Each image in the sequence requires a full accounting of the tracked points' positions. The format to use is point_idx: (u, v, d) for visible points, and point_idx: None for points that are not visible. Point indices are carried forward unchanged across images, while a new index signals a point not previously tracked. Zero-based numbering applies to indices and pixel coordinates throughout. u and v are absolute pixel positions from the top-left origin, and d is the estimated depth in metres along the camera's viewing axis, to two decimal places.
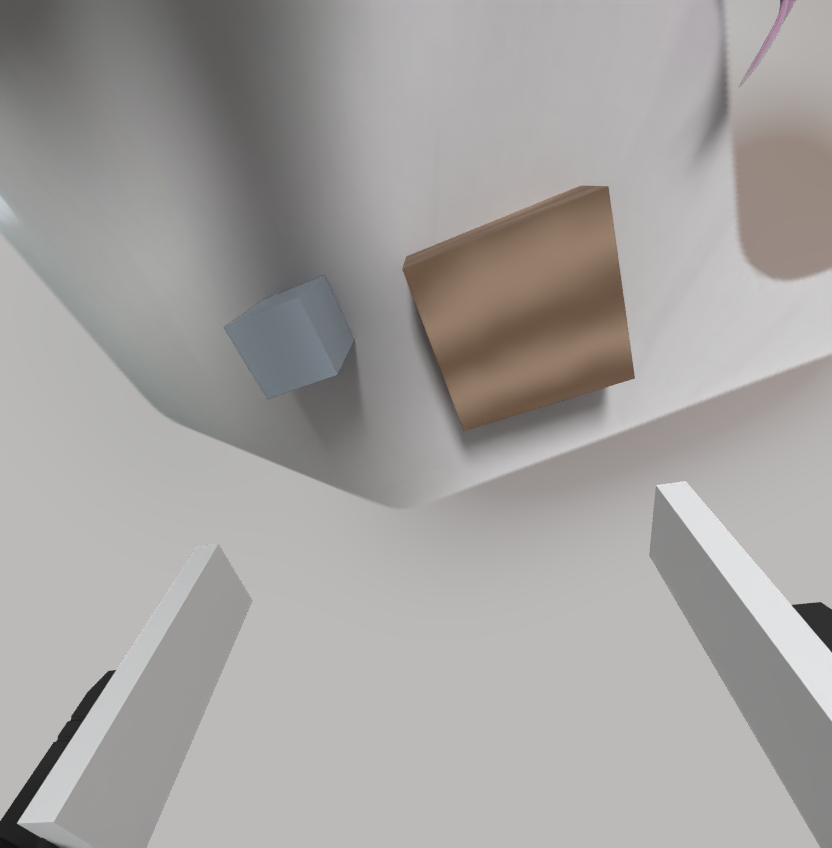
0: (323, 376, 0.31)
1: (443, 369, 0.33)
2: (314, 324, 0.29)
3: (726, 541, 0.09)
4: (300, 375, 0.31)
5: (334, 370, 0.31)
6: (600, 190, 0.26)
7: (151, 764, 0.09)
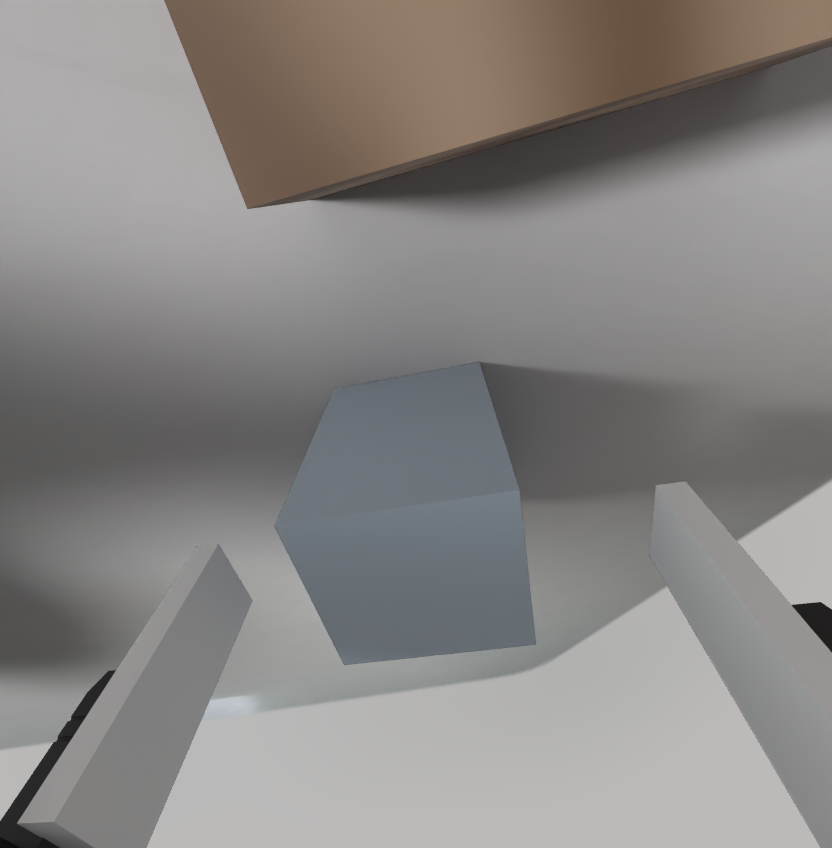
0: (513, 524, 0.10)
1: (646, 77, 0.08)
2: (358, 504, 0.10)
3: (726, 541, 0.09)
4: (492, 573, 0.11)
5: (503, 493, 0.10)
6: None
7: (151, 764, 0.09)
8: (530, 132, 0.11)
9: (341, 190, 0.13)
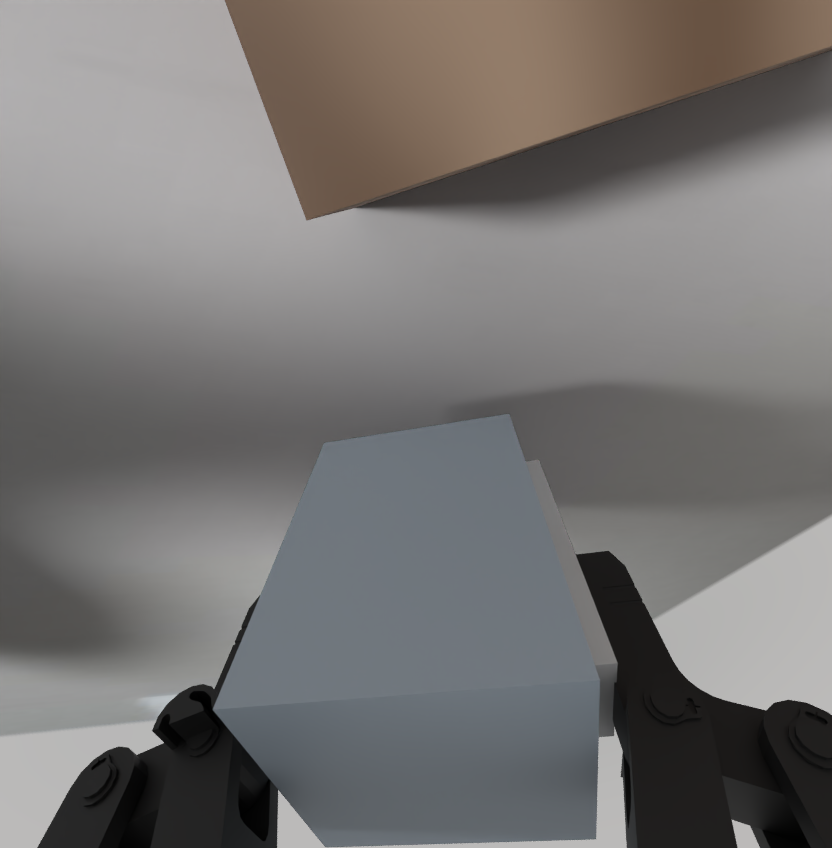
0: (583, 720, 0.06)
1: (715, 70, 0.07)
2: (341, 676, 0.07)
3: (548, 505, 0.11)
4: (544, 769, 0.07)
5: (572, 683, 0.06)
6: None
7: None
8: (582, 131, 0.10)
9: (385, 197, 0.13)
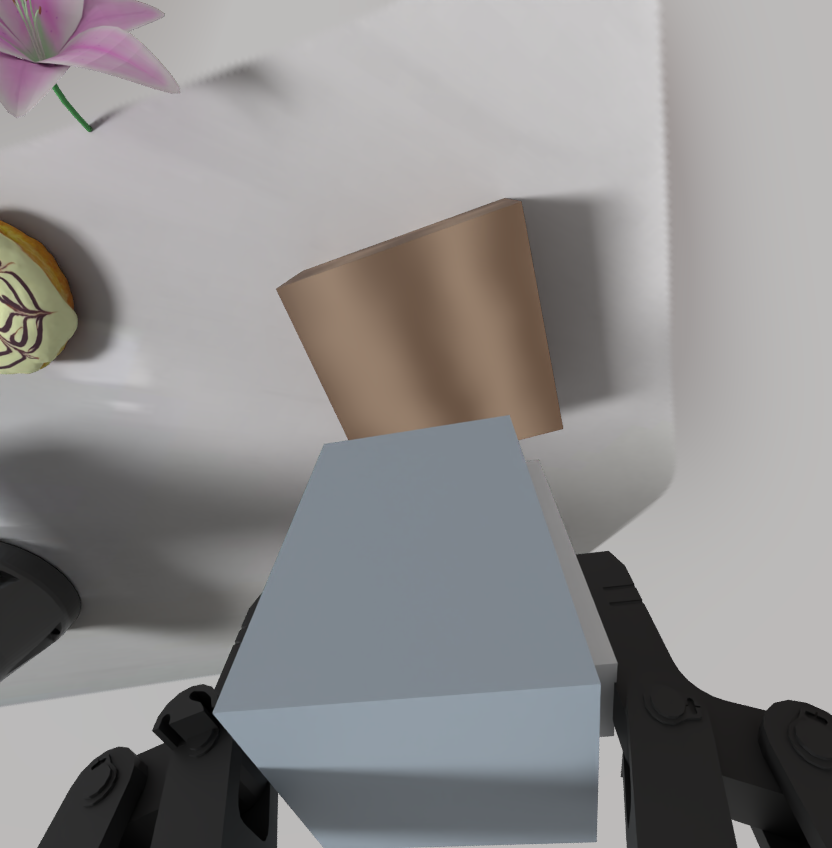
0: (584, 723, 0.06)
1: None
2: (341, 679, 0.07)
3: (548, 505, 0.11)
4: (545, 772, 0.07)
5: (572, 687, 0.06)
6: (280, 296, 0.24)
7: None
8: None
9: None
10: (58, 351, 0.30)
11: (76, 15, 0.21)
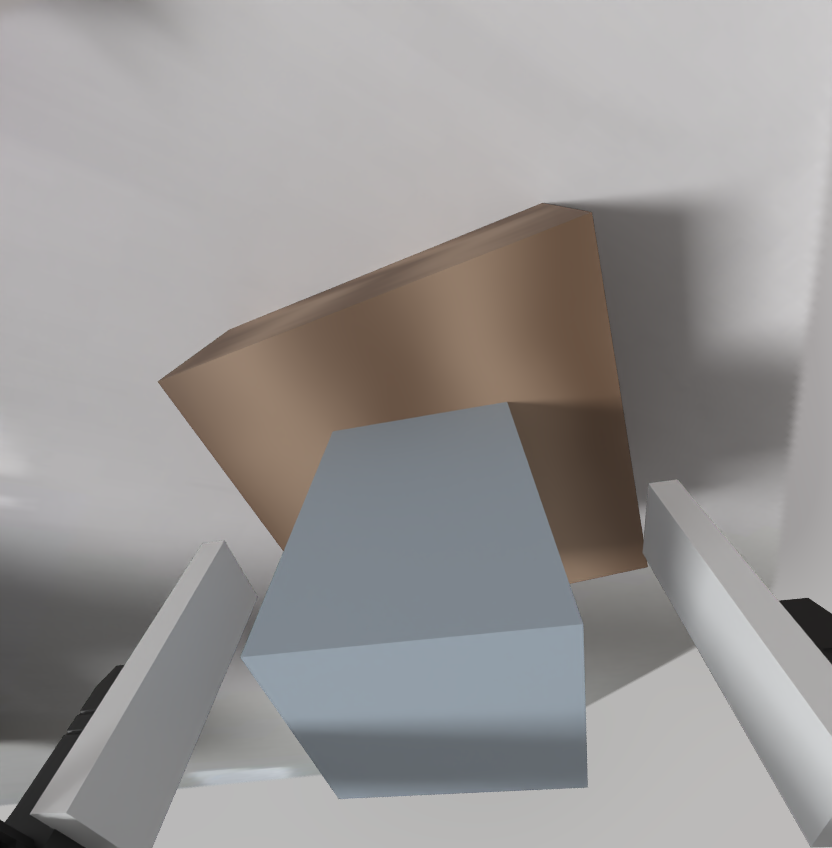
0: (570, 663, 0.07)
1: None
2: (354, 627, 0.08)
3: (716, 538, 0.09)
4: (537, 714, 0.08)
5: (559, 627, 0.07)
6: (168, 393, 0.14)
7: (160, 757, 0.09)
8: None
9: None
10: None
11: None
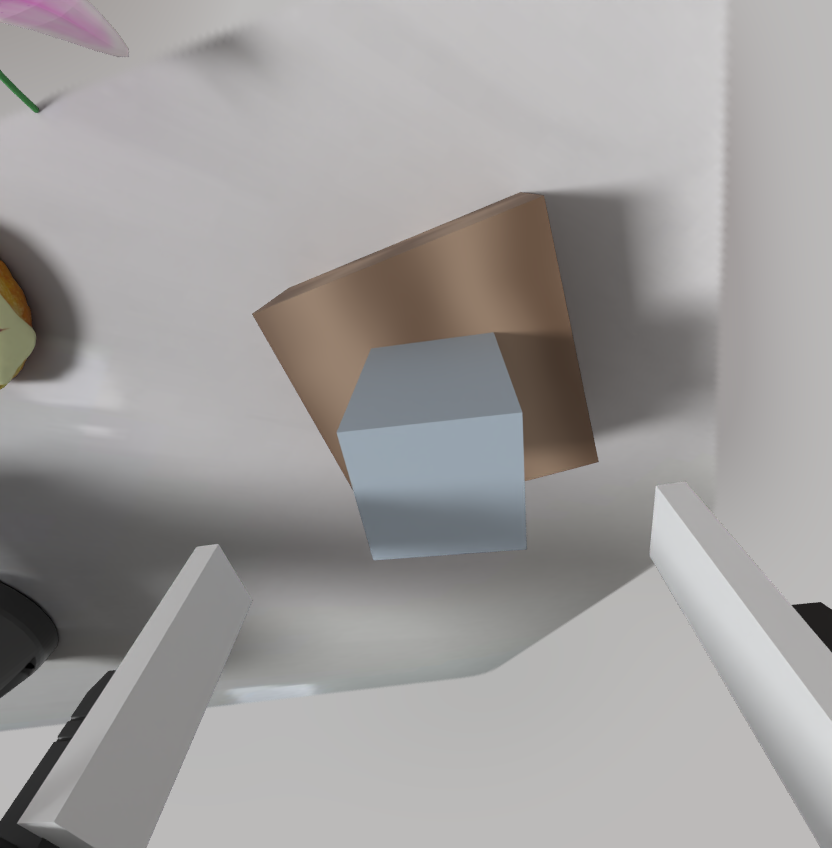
0: (515, 441, 0.14)
1: None
2: (399, 420, 0.14)
3: (726, 541, 0.09)
4: (497, 482, 0.14)
5: (509, 415, 0.13)
6: (258, 322, 0.20)
7: (151, 764, 0.09)
8: None
9: None
10: (14, 372, 0.26)
11: None
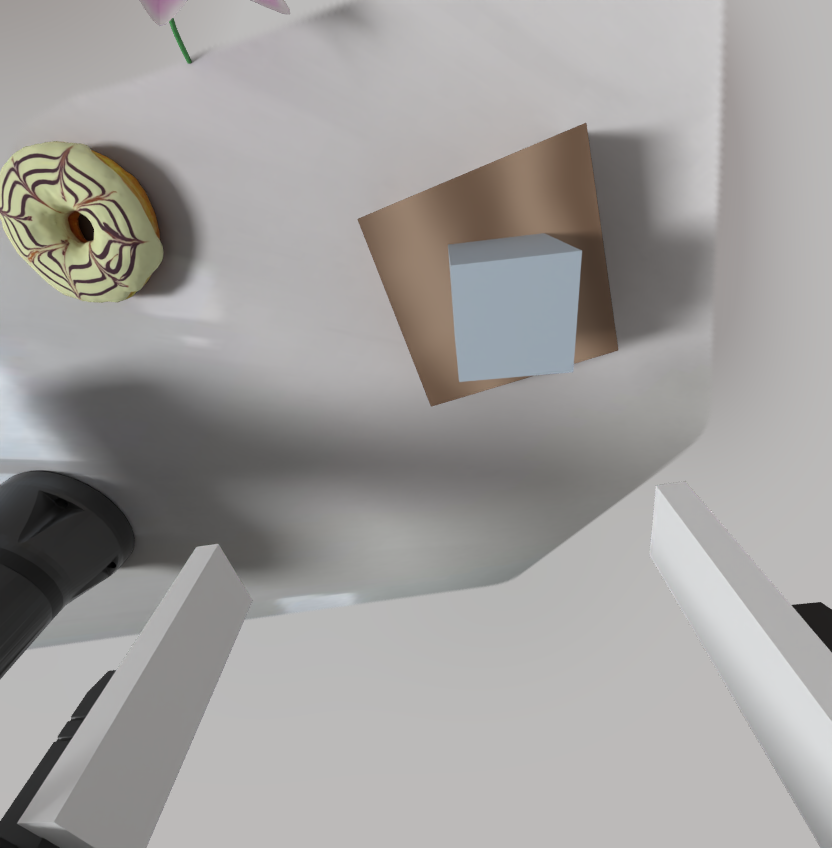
0: (575, 275, 0.20)
1: None
2: (494, 259, 0.20)
3: (726, 541, 0.09)
4: (558, 310, 0.20)
5: (573, 253, 0.19)
6: (361, 226, 0.26)
7: (151, 764, 0.09)
8: None
9: None
10: (144, 281, 0.32)
11: None
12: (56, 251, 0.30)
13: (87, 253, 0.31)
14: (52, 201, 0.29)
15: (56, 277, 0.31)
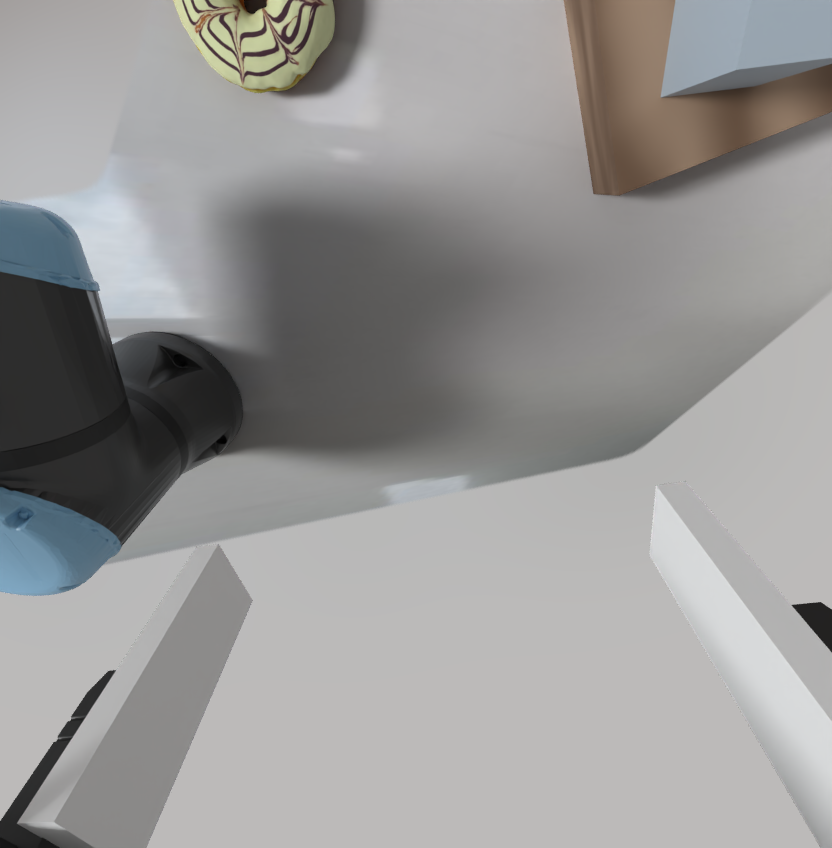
0: None
1: (740, 144, 0.29)
2: None
3: (726, 541, 0.09)
4: None
5: None
6: None
7: (151, 764, 0.09)
8: None
9: None
10: (313, 63, 0.30)
11: None
12: (228, 15, 0.28)
13: (262, 18, 0.28)
14: None
15: (223, 51, 0.29)
